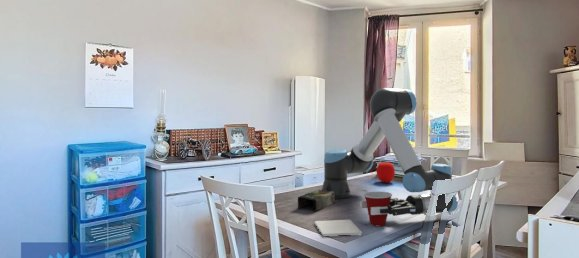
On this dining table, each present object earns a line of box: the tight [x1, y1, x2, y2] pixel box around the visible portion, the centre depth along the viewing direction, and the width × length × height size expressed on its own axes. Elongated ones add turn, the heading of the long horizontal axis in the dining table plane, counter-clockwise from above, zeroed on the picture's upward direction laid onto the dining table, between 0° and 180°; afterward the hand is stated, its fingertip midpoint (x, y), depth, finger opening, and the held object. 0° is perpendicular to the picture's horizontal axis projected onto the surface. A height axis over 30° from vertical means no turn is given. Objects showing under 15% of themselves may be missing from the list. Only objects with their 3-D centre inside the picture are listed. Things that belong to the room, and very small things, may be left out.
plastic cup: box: [362, 190, 393, 227], centre depth 133 cm, size 11×11×12 cm
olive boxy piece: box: [297, 189, 336, 212], centre depth 159 cm, size 20×10×6 cm, turn 147°
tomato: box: [376, 161, 396, 183], centre depth 211 cm, size 11×11×13 cm
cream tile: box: [314, 219, 363, 237], centre depth 127 cm, size 14×14×1 cm
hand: (365, 207), depth 132 cm, fingers closed on plastic cup, 8 cm apart
